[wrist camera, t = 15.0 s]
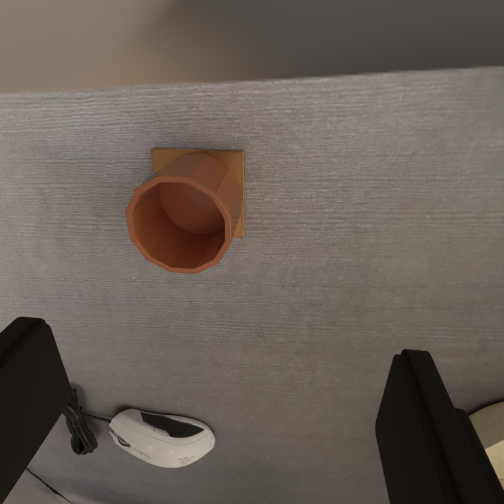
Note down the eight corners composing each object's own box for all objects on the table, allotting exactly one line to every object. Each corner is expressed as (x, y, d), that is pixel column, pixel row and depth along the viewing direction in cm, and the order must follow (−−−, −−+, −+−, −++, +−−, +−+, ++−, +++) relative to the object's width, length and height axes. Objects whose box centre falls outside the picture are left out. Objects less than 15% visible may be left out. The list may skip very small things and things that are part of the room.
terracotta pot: (242, 154, 26) (229, 178, 21) (242, 237, 29) (231, 276, 24) (152, 151, 27) (118, 174, 22) (162, 233, 30) (135, 270, 25)
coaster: (244, 150, 27) (243, 152, 26) (244, 234, 30) (243, 237, 29) (153, 147, 27) (150, 149, 27) (163, 230, 31) (161, 233, 30)
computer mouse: (213, 459, 46) (206, 492, 42) (74, 434, 46) (56, 464, 43) (220, 408, 41) (213, 441, 37) (65, 380, 41) (44, 410, 38)
